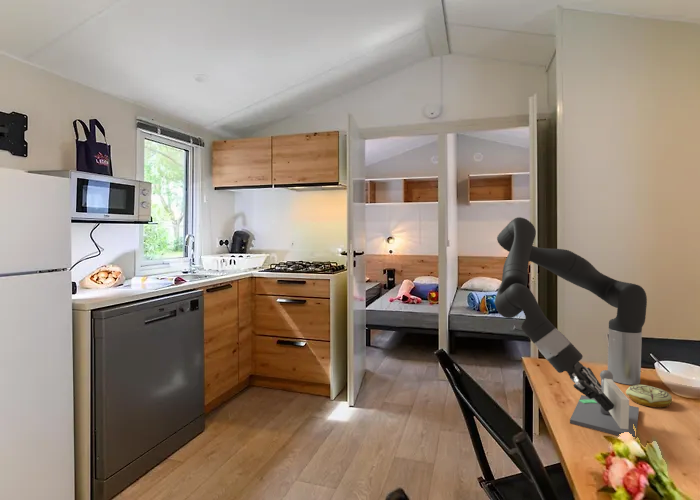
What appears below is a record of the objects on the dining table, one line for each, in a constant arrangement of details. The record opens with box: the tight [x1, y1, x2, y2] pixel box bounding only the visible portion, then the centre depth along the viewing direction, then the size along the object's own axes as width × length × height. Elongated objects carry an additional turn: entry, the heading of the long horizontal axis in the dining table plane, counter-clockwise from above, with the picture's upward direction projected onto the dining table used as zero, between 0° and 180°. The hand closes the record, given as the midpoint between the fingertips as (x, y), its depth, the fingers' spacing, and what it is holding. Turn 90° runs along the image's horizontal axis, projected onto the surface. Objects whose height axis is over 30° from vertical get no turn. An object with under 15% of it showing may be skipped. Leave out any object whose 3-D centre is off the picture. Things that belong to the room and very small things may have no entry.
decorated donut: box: [625, 384, 673, 409], centre depth 117 cm, size 10×11×4 cm
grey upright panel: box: [599, 369, 630, 429], centre depth 104 cm, size 24×3×12 cm, turn 161°
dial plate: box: [569, 394, 640, 437], centre depth 107 cm, size 20×14×1 cm
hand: (610, 408), depth 97 cm, fingers closed
